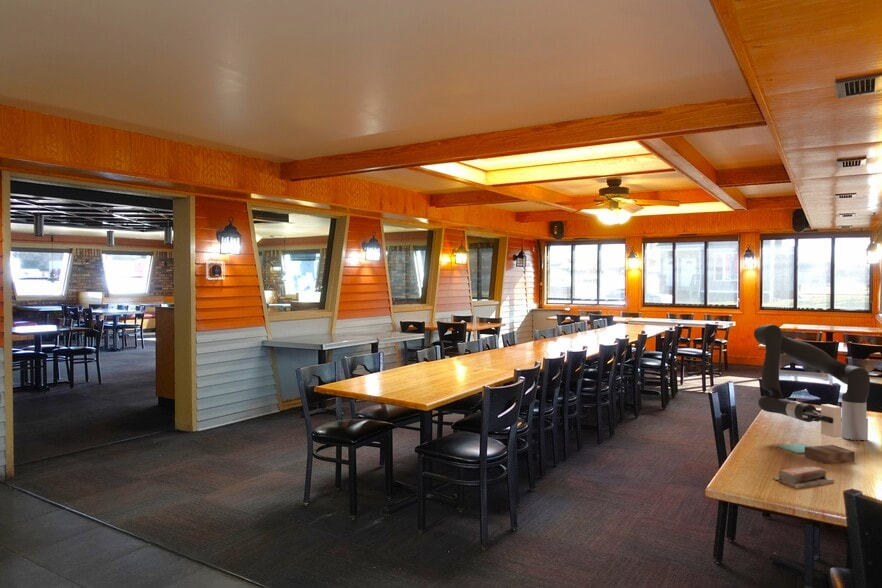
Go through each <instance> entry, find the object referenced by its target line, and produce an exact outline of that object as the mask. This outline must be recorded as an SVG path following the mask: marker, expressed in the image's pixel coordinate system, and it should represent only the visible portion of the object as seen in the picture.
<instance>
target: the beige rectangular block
mask: <svg viewBox="0 0 882 588" xmlns="http://www.w3.org/2000/svg"><path fill="white" fill-rule="evenodd" d="M820 410H821V415H824V416H827V417H831V418H833V423H828V422H821V421H820V433H821V435H824V436H827V437H831V438H842V437H841V425H842V422H841V418H842V406H839V405H833V404H829V403H826V404H821V405H820Z"/></svg>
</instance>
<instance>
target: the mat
mask: <svg viewBox="0 0 882 588" xmlns="http://www.w3.org/2000/svg"><path fill="white" fill-rule="evenodd" d="M810 446H811V445H809V444H807V443H804V442H803V443H789V444H778V445H776V447H777V448H779V447H780V448H779V449H782V448H783V449H782V450H785V451H787V450H788V451H787V452H790V451H791V452H790V453H794V454H797V455H805V447H810Z"/></svg>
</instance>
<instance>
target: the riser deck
mask: <svg viewBox="0 0 882 588" xmlns="http://www.w3.org/2000/svg"><path fill="white" fill-rule="evenodd" d="M855 454H856V452H855V451H854V450H851V449H847V448H844V447H842V446H837V445H834V444H825V445H823V444H822V445H810V447H805V454H804V457H805V458H808V459H811V460H813V461H816V462H819V463H821V464H824V465H828V464H831V463H832V464H841V463H852V462H853V463H854V462H856V461H855V460H856V458H855V456H856V455H855Z"/></svg>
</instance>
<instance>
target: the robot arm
mask: <svg viewBox="0 0 882 588" xmlns="http://www.w3.org/2000/svg"><path fill="white" fill-rule="evenodd" d="M753 337H754V339H755V340H756V341H757V342H758V343H759V344H760V345H763V346H765V358H764V362H763V365H762V368H761V387H762V389H763V390H766V391H767V392H768V393H769V395H762V396H761V397H759V399H758V401H757V404H758V407H759V408H760V409H761V410H762V411H764V412H767V413H772V414H780V415H783V416H786V417H790V418H793V419H795V420H799V421H803V422H806V423H812V422H817V423H818V422H820V423H821V422H828V423H833V418H831V417H827V416H824V415H821V409H817V408H816V407H815V406H814V405H813V404H810V403H806V402H802V401H797V400H796V401H795V400H791V399H786V398H785V399H784V396H783V392H782V390H781V387H780V359H781V357H780V356H781V353H783V354H784V355H787V356H789V357H790V358H792V359H794V360H796V361H798V362H800V363H802V364H804V365H806V366H809V367H811V368H813V369H815V370H818V371H821V372H824V373H826V374H828V375H830V376H832V377H833V378H835V379H836V380H838V381H840V382H842V383H843V384H844V385H846V386H847V388H846V392H844V393H842V394H841V437H840V438H843V439H844V440H845V439H846V440H849V439H850V440H849V441H856V440H858V441H859V442H861V441H860V440H864V441H866V440H869V439H868V437H869V436H868V435H869V434H868V433H869V427H868V426H869V419H868V418H867V401H868V397H869V395H870V383H871V381H870V380H871V379H870V374H869V372H868V371H867V370H866V369H865V368H863V367H861V366H856V365H853V364H852V365H851V364H848V363H845V362H842V361H840V360H838V359H835V358H833V357H832V356H831V355H829V353H827V352H825V351H824V350H823V349H820V348H819V347H817V346H815V345H813V344H811V343H808V342H804V341H801V340H798V339H794V338H793V339H792V338H790V337H787V336H785V335H783V331H782V329H781V327H780V326H778V325H777V324H763V325H760V326H758V327H756V328H755V329H754V330H753ZM858 441H857V442H858Z"/></svg>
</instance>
